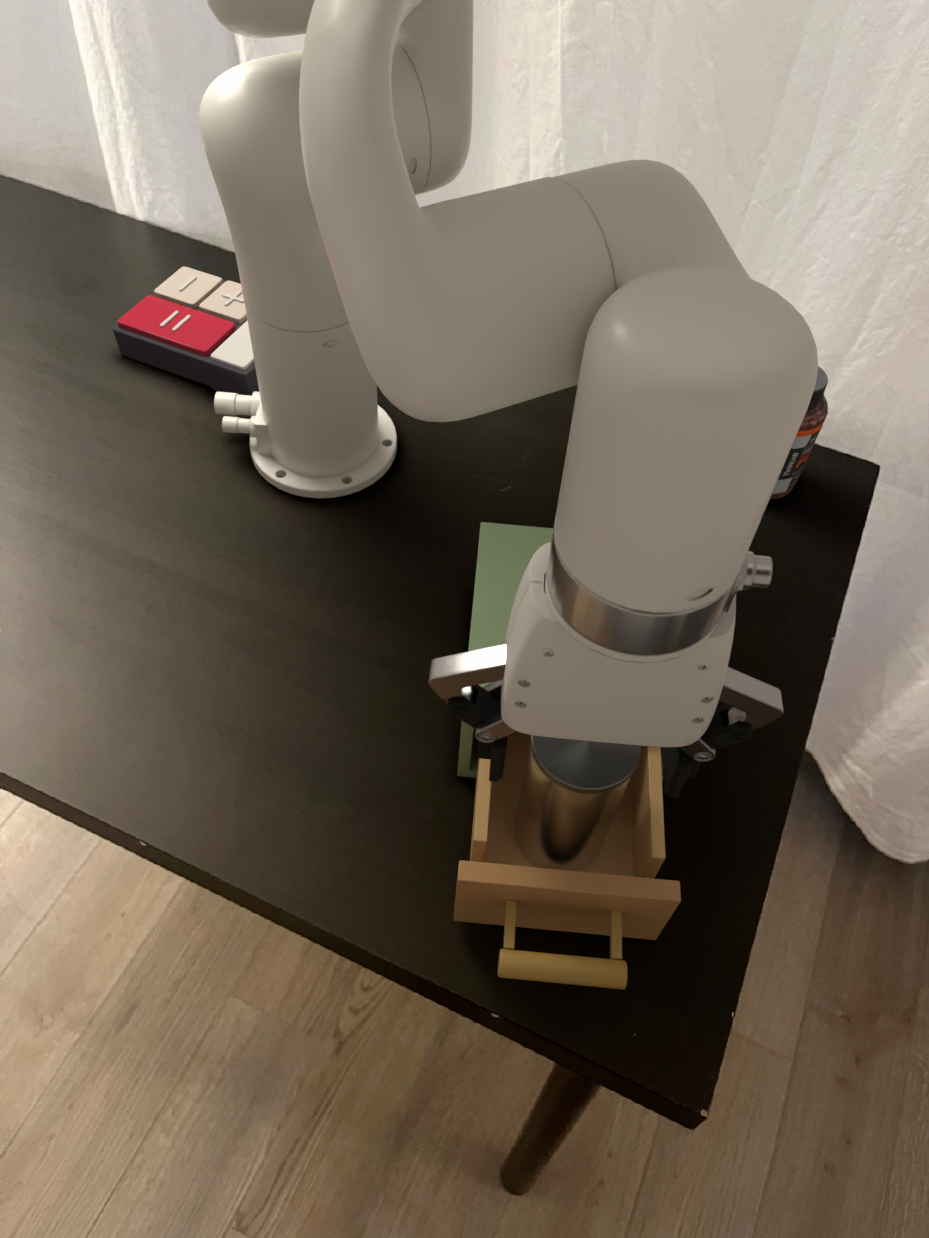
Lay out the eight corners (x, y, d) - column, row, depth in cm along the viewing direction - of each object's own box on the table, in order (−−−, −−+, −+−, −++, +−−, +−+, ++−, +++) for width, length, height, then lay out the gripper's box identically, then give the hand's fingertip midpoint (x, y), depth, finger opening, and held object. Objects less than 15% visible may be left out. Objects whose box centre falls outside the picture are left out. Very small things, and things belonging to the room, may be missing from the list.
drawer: (658, 1013, 56) (685, 980, 50) (446, 992, 56) (450, 957, 50) (648, 732, 67) (669, 680, 61) (471, 716, 67) (476, 662, 61)
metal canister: (509, 870, 59) (528, 783, 49) (514, 783, 63) (533, 685, 53) (606, 879, 59) (643, 794, 49) (605, 791, 63) (640, 695, 53)
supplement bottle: (794, 508, 81) (842, 406, 72) (724, 496, 82) (763, 393, 73) (794, 460, 85) (840, 357, 76) (727, 449, 85) (764, 344, 76)
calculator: (181, 259, 92) (313, 300, 88) (191, 298, 96) (319, 339, 91) (106, 321, 86) (244, 368, 82) (120, 360, 90) (253, 407, 85)
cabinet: (656, 795, 65) (685, 732, 58) (457, 776, 65) (462, 712, 58) (648, 611, 74) (673, 538, 67) (474, 595, 74) (480, 521, 67)
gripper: (835, 520, 42) (732, 721, 55) (439, 486, 42) (434, 695, 56) (864, 662, 37) (744, 843, 51) (421, 623, 37) (420, 813, 51)
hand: (582, 765), depth 53 cm, fingers open, 9 cm apart
